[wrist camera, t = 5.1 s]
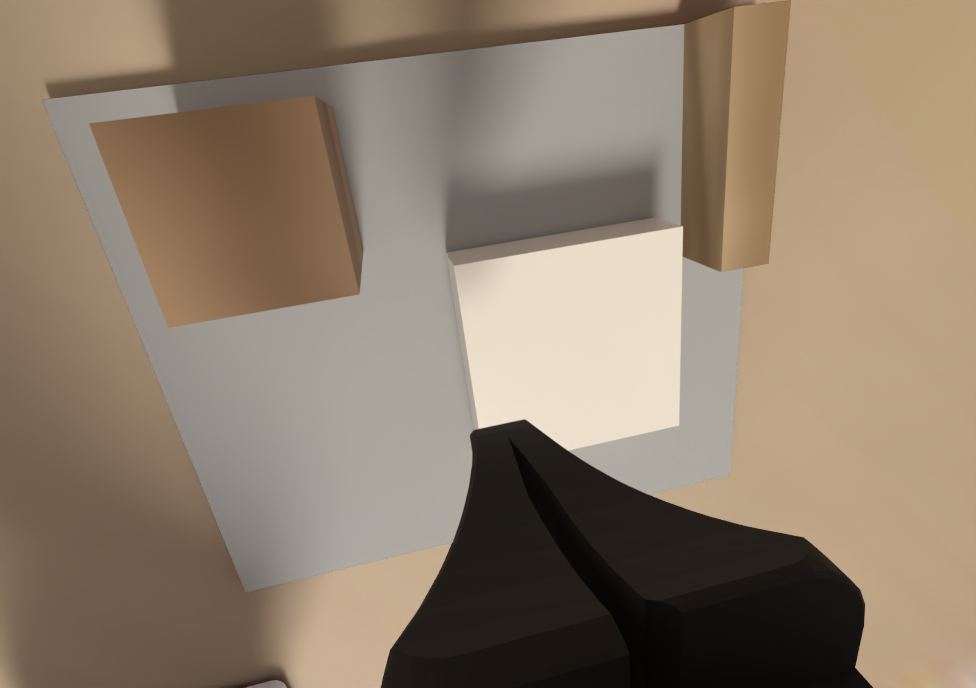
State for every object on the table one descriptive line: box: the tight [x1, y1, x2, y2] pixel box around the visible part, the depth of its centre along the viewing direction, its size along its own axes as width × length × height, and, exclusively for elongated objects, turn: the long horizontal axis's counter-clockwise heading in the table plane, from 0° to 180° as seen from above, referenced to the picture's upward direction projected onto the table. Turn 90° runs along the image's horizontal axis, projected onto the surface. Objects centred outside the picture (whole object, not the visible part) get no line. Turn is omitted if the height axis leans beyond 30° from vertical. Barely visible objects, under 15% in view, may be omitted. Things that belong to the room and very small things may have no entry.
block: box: [89, 96, 364, 328], centre depth 13 cm, size 4×4×5 cm
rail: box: [681, 0, 791, 272], centre depth 16 cm, size 2×7×2 cm, turn 7°
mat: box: [42, 24, 744, 593], centre depth 18 cm, size 20×17×1 cm
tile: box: [446, 218, 683, 451], centre depth 18 cm, size 2×7×7 cm
